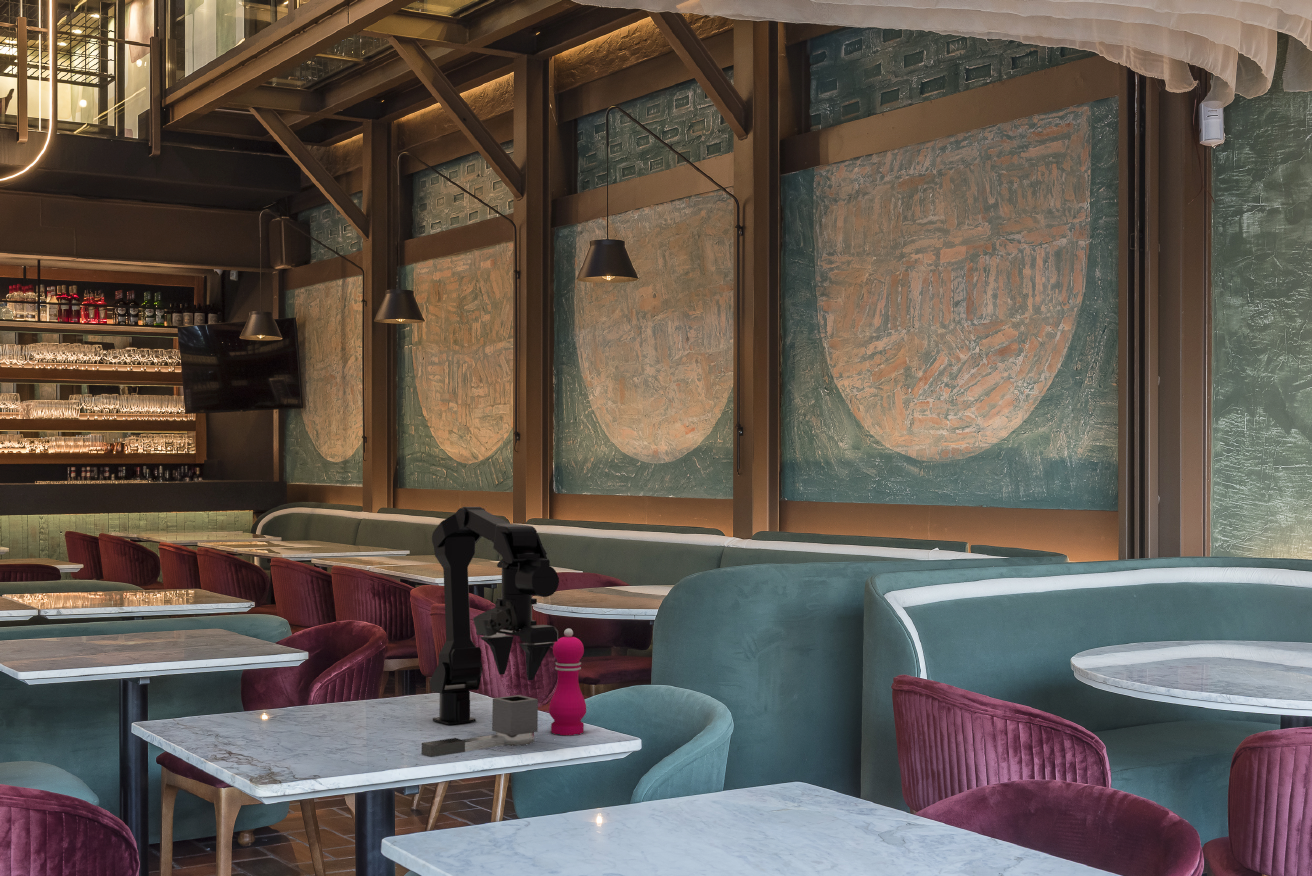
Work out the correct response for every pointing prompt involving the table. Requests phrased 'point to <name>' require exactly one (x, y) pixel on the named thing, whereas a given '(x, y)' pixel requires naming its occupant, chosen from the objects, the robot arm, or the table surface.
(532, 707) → the grey open-top box
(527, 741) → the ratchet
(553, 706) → the pepper mill
